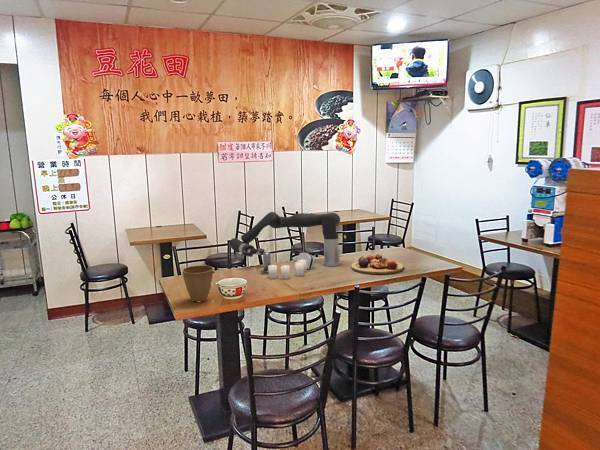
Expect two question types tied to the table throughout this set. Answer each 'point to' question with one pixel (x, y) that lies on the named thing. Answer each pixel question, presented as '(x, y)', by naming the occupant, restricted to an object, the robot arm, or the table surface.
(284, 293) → the table surface
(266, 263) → the bushing
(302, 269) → the spacer
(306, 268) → the spacer
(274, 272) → the cylinder
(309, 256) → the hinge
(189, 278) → the plant pot
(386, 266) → the wooden plate with food
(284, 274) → the spacer
